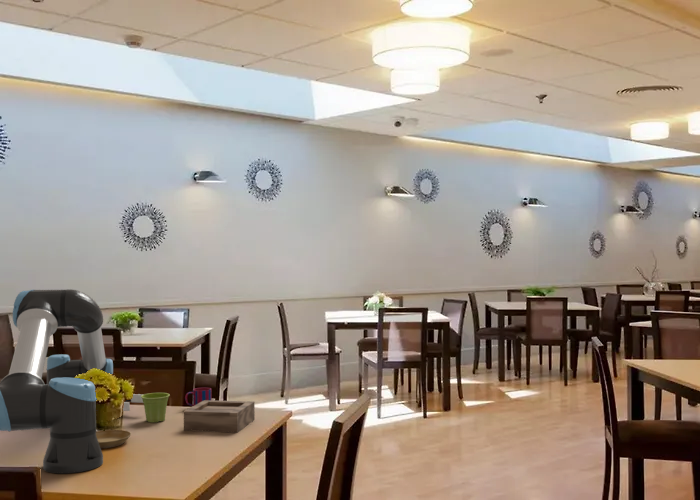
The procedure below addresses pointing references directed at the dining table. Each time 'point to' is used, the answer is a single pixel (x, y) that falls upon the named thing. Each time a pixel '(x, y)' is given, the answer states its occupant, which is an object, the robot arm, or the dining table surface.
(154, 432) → the dining table surface
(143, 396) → the plant pot
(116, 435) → the plant saucer
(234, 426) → the walnut plant stand
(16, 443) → the dining table surface
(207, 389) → the mug
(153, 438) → the dining table surface
